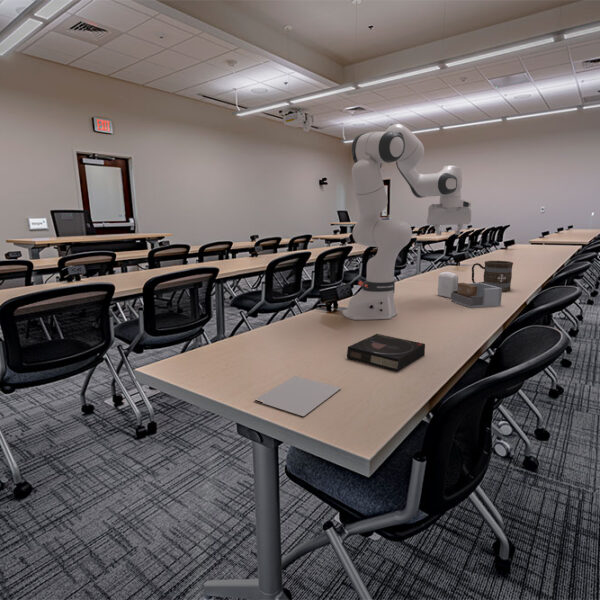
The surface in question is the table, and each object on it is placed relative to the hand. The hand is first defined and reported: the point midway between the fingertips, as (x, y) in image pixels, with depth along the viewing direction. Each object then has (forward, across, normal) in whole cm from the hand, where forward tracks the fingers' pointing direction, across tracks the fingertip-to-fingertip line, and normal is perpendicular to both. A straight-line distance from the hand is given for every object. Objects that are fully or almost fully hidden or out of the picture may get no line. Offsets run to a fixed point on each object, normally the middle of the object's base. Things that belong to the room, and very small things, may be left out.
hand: (448, 235), depth 183 cm
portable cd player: (+32, -57, -60) cm, 89 cm away
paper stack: (+32, -88, -72) cm, 118 cm away
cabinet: (+31, +11, -7) cm, 34 cm away
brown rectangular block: (+30, +7, -7) cm, 32 cm away
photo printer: (+31, +8, +10) cm, 34 cm away
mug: (+31, +39, +19) cm, 54 cm away
